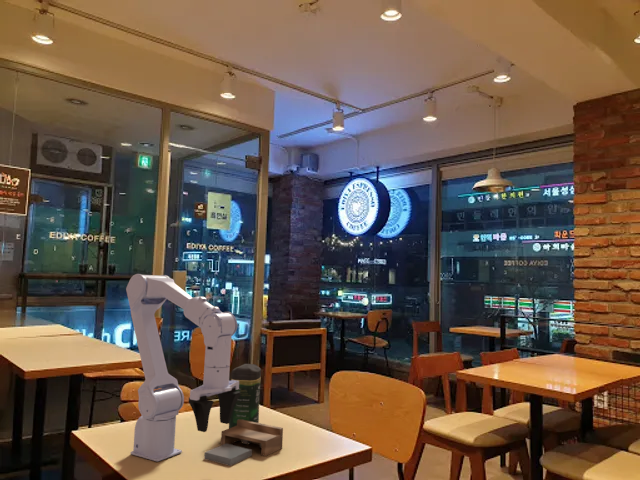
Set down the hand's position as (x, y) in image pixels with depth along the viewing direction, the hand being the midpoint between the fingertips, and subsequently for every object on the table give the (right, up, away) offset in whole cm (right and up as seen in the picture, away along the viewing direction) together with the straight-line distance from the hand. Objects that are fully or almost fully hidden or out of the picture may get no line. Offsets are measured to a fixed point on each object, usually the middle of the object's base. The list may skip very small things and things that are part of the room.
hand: (213, 426), depth 112 cm
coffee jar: (+2, -12, +29) cm, 31 cm away
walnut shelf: (+6, -11, +15) cm, 20 cm away
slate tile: (+2, -11, +7) cm, 13 cm away
